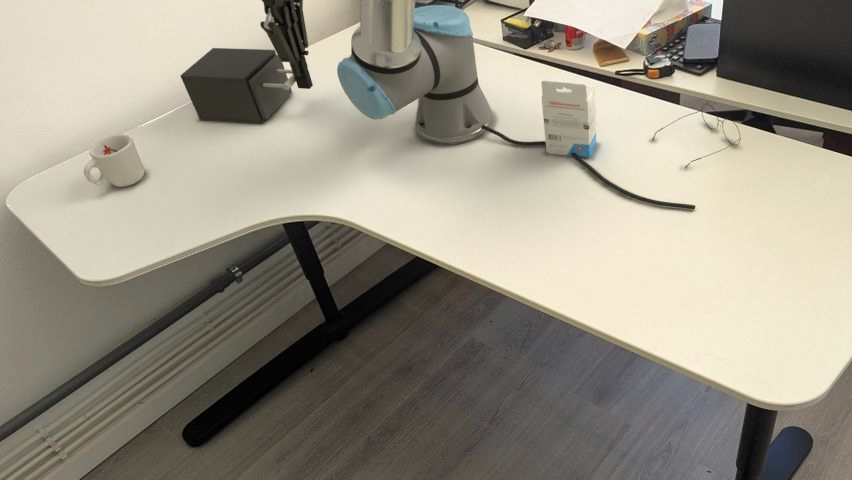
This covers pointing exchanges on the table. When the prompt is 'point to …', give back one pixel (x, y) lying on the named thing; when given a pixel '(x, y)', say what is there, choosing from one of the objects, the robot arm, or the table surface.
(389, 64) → the robot arm
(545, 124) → the ink box
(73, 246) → the table surface
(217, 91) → the cabinet
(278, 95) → the drawer
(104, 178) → the cup
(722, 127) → the eyeglasses
